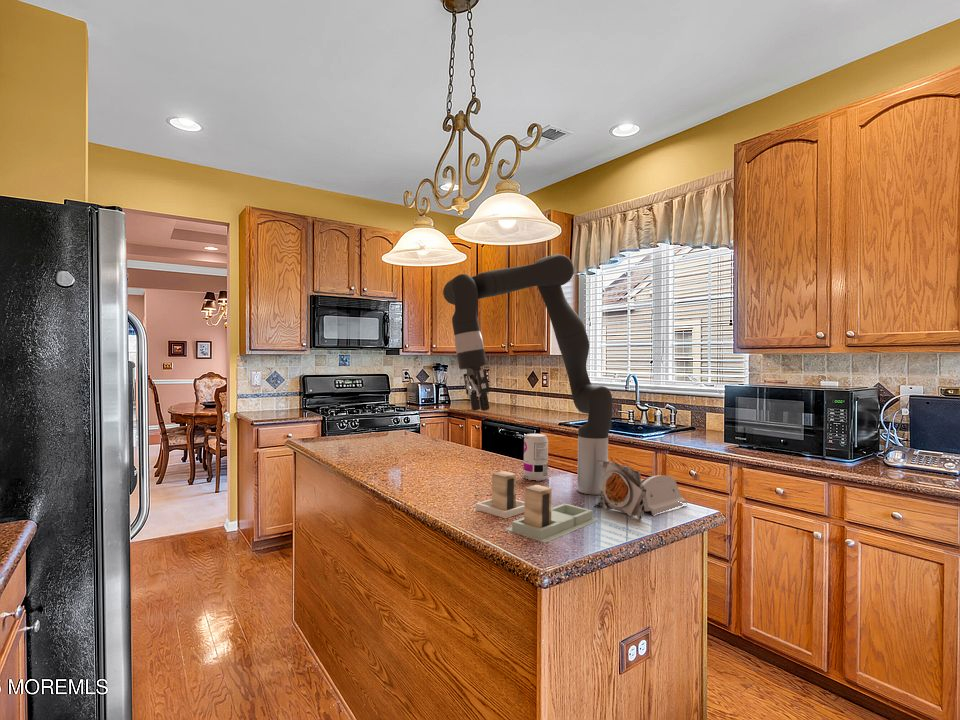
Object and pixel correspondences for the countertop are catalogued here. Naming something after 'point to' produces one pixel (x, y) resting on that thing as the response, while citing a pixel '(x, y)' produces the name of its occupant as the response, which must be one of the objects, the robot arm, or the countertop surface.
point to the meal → (621, 489)
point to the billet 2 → (537, 506)
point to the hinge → (661, 494)
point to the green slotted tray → (556, 523)
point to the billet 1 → (504, 490)
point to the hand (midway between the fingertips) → (480, 410)
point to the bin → (487, 507)
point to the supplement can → (535, 457)
